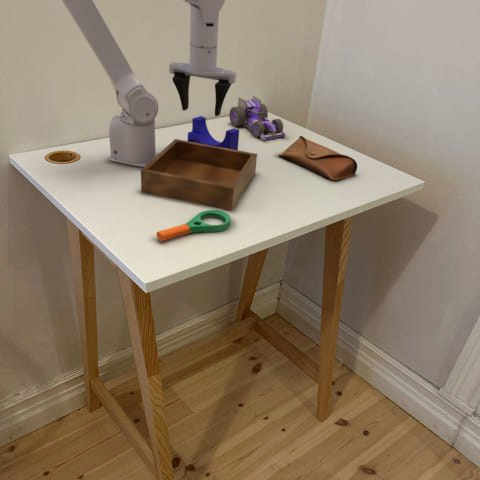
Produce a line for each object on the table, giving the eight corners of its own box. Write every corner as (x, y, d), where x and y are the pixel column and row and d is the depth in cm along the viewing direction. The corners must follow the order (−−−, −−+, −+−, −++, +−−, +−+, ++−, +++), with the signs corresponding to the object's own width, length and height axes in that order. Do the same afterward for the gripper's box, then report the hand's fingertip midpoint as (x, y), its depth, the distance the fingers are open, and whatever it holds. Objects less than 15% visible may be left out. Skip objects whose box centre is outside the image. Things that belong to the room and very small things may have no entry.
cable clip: (187, 144, 125) (188, 119, 122) (200, 140, 128) (201, 116, 124) (225, 160, 120) (226, 134, 116) (237, 155, 123) (239, 129, 119)
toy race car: (259, 142, 131) (262, 116, 127) (228, 123, 140) (230, 98, 136) (289, 137, 135) (293, 111, 131) (257, 119, 144) (259, 94, 140)
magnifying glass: (216, 212, 100) (217, 204, 98) (237, 225, 96) (237, 217, 95) (149, 234, 91) (149, 225, 90) (169, 249, 88) (169, 240, 87)
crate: (141, 192, 104) (140, 170, 101) (175, 158, 118) (175, 138, 115) (232, 210, 101) (233, 188, 98) (255, 173, 115) (257, 153, 112)
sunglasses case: (275, 154, 124) (288, 127, 122) (290, 163, 129) (302, 138, 128) (334, 181, 114) (349, 152, 113) (347, 189, 120) (361, 162, 118)
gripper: (241, 46, 110) (237, 112, 118) (177, 36, 112) (177, 101, 120) (232, 53, 104) (228, 121, 113) (165, 42, 106) (166, 110, 115)
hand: (201, 112), depth 116 cm, fingers open, 7 cm apart
